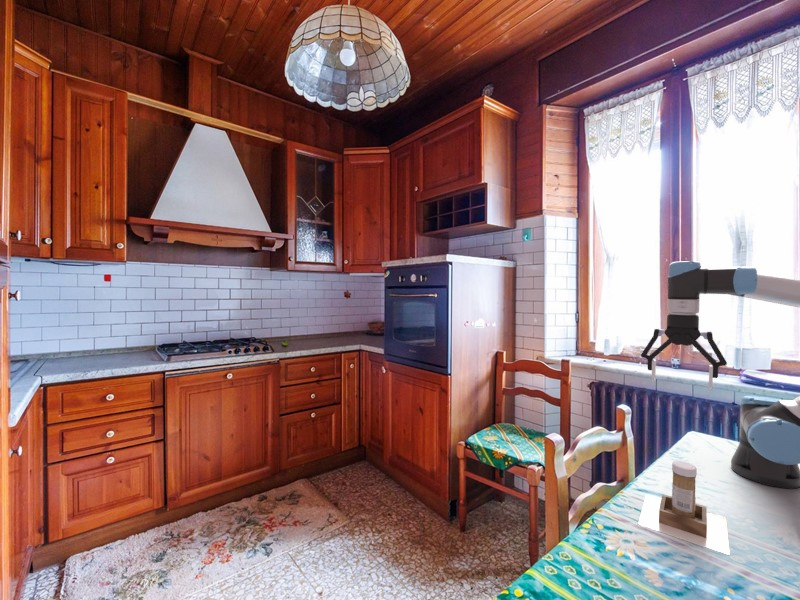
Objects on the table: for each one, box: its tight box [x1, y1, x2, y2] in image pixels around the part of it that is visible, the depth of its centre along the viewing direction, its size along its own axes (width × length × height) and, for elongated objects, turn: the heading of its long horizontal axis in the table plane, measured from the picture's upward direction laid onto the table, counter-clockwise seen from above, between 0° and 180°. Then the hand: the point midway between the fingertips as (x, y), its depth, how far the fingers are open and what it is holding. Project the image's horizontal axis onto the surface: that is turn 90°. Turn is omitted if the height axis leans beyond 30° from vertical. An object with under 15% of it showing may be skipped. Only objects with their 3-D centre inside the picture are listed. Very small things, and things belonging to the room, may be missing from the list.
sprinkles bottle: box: [671, 460, 698, 519], centre depth 88 cm, size 5×5×14 cm
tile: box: [637, 494, 731, 556], centre depth 88 cm, size 16×16×1 cm
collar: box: [659, 493, 708, 538], centre depth 88 cm, size 9×9×3 cm
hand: (680, 384), depth 111 cm, fingers open, 13 cm apart
